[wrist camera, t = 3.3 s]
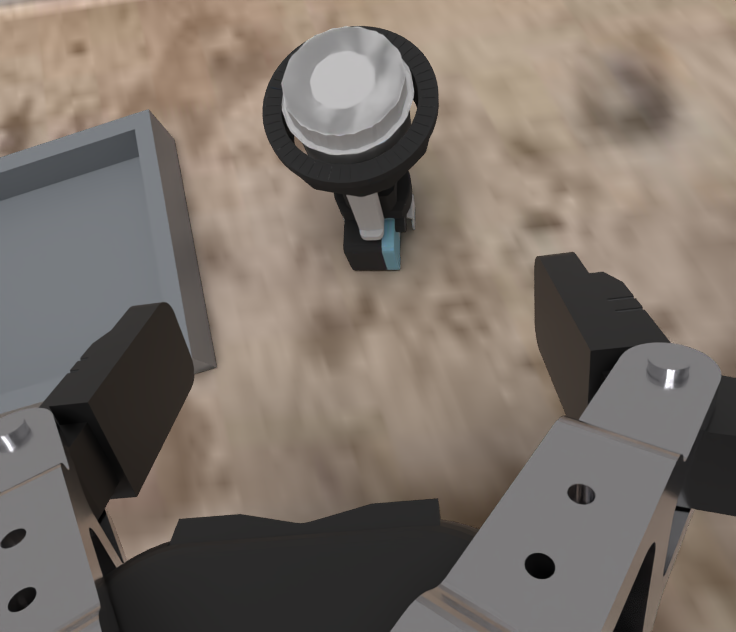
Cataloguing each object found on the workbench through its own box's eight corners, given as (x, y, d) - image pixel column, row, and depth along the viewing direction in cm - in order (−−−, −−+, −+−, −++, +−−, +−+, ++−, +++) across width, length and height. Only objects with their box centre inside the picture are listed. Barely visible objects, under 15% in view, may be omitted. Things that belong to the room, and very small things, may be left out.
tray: (174, 139, 28) (148, 109, 26) (216, 367, 25) (192, 357, 22) (-79, 220, 29) (-127, 198, 26) (-70, 450, 26) (-124, 450, 23)
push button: (329, 146, 27) (263, -29, 17) (442, 141, 26) (438, -45, 16) (321, 279, 25) (243, 168, 15) (441, 278, 24) (437, 161, 15)
